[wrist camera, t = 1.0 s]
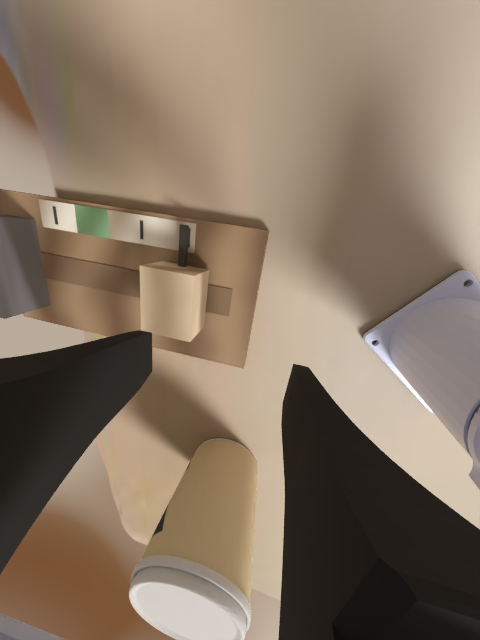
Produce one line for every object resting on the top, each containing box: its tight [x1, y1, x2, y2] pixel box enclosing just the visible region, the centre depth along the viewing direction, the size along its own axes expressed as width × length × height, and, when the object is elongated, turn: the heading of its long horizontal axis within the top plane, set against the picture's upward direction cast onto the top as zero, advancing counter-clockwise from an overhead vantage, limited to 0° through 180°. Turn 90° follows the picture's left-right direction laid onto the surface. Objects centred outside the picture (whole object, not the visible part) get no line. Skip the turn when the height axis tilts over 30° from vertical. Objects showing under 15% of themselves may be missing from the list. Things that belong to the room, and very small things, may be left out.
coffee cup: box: [129, 438, 257, 640], centre depth 21 cm, size 9×9×12 cm
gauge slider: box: [140, 224, 209, 342], centre depth 17 cm, size 4×8×3 cm, turn 172°
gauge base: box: [0, 189, 269, 368], centre depth 19 cm, size 24×12×5 cm, turn 82°
